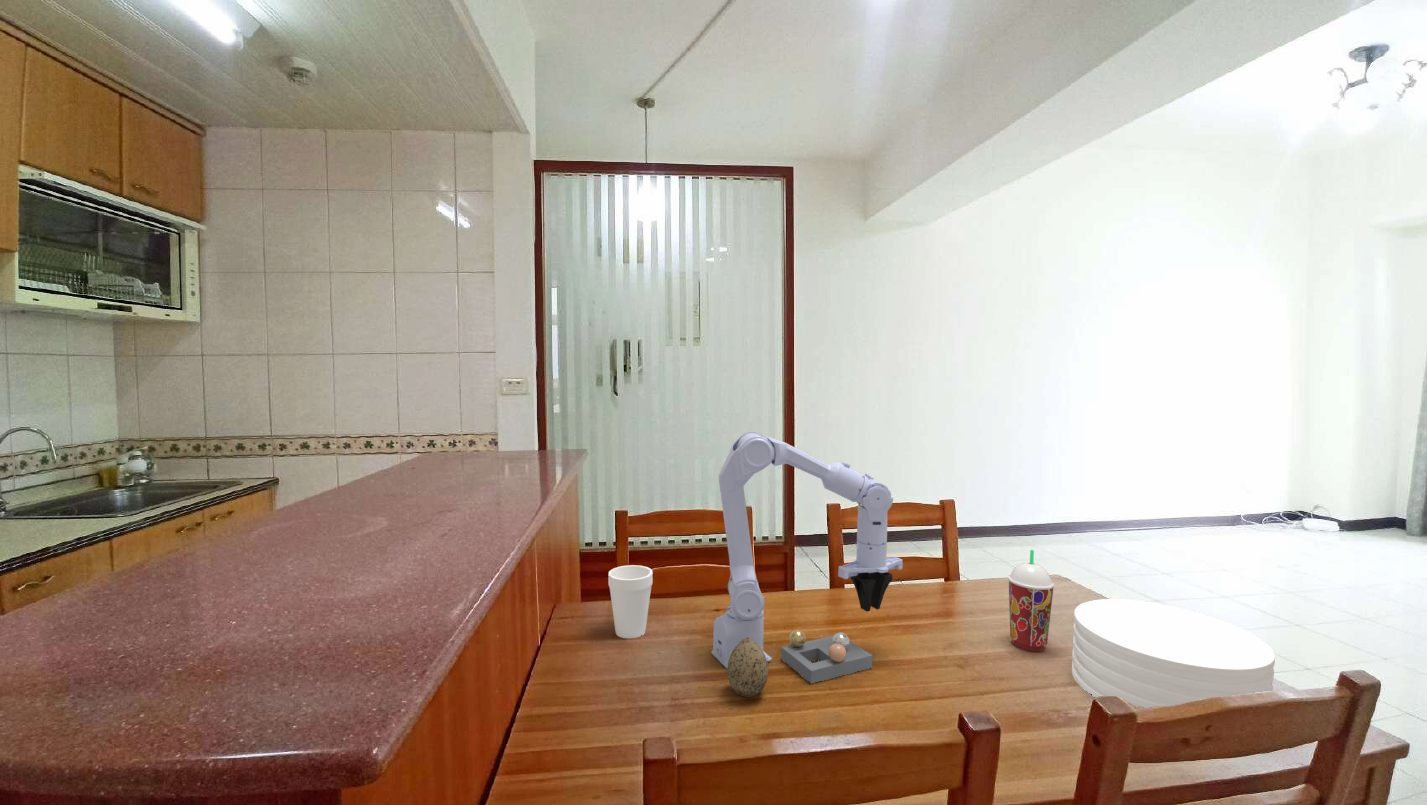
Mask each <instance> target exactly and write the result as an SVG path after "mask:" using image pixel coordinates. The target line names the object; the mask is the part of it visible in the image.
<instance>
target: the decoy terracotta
mask: <svg viewBox="0 0 1427 805" xmlns="http://www.w3.org/2000/svg"><path fill="white" fill-rule="evenodd" d="M829 656H830V658H831V659H832V660H833V661H835V662H841V661H843V660H844V659H845V657H846V650H845V648H844V646H842V645H841V644H838V643H836V644H833V645H831V647H830V648H829Z"/></svg>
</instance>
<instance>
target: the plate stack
mask: <svg viewBox="0 0 1427 805" xmlns="http://www.w3.org/2000/svg"><path fill="white" fill-rule="evenodd" d="M1073 621H1074V622H1073V636H1072V637H1073V638H1072V647H1073V648H1072V654H1071V656H1072V657H1071V660H1072V662H1071V675H1072V676H1073V679H1074V680H1075V682H1076V684H1077V685H1078V686H1079V687H1080V688H1081V689H1082V690H1084V691H1085V692H1086V691H1087V692H1088V693H1087V692H1086V693H1087V694H1089V693H1090V694H1092V696H1091V697H1093V698H1094V697H1098V696H1119V697H1121V698H1122V699H1124V700H1125V701H1128V702H1129V703H1131V704H1132V705H1134V706H1136V707H1138V706H1141V707H1144V708H1149V707H1154V706H1171V705H1175V704H1179V703H1184V702H1188V701H1196V700H1200V699H1205V698H1210V697H1215V696H1232V695H1239V694H1247V693H1255V692H1263V691H1273V692H1274V685H1273V682H1274V680H1275V678H1274V677H1275V670H1274V667H1275V664H1276V663H1275V662H1276V654H1275V651H1274V650H1273V648H1272V647H1271V646H1270V645H1269V644H1268V643H1266V642H1265V641H1264V640H1263V639H1261V638H1259V637H1258V636H1257V635H1255V634H1254V633H1252V632H1249V631H1248V630H1245V629H1244V628H1241V627H1239V626H1237V625H1234V624H1232V623H1229V622H1226V621H1224V620H1222V619H1218V618H1215V617H1213V616H1210V615H1206V614H1203V613H1200V612H1196V611H1193V610H1189V609H1185V608H1181V607H1178V606H1177V607H1176V606H1174V605H1173V606H1171V605H1168V604H1167V605H1166V604H1162V603H1158V602H1151V601H1145V600H1144V601H1143V600H1134V599H1123V598H1122V599H1121V598H1120V599H1119V598H1106V599H1105V598H1104V599H1103V598H1102V599H1095V600H1090V601H1085V602H1082V603H1080V604H1079V605H1077V606H1076V607H1075V608H1074V611H1073ZM1090 694H1089V695H1090Z"/></svg>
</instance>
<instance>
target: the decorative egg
mask: <svg viewBox="0 0 1427 805" xmlns="http://www.w3.org/2000/svg"><path fill="white" fill-rule="evenodd" d="M763 651H764V650H763ZM763 651H762V649H761V647H760V646H759V645H758V644H757V643H756V642H755V641H754V640H753V639H751V638H744V639H742V640H741V641H740V642H739V643H738V644H737V645H736V647H735V648H734V649H733V651H732V653H731V655H730V658H729V661H728V666H727V668H726V673H727V679H728V680H727V681H729V684H730V686H731V688H732V689H733V691H734V692H735V693H736V694H738V695H739V696H742V697H745V698H746V697H747V698H749V697H753V696H756V695H758V694H759V693H760V692H762V690H763V689H764V688H765V686H766V684H767V681H768V678H769V665H768V662H767V660H766V657H765V654H764V652H765V651H764V652H763Z"/></svg>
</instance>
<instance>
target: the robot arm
mask: <svg viewBox="0 0 1427 805" xmlns="http://www.w3.org/2000/svg"><path fill="white" fill-rule="evenodd" d="M771 464H772V466H774V467H778V466H781V465H789V466H791V467H794V468H796V469H798V470H800V471H802V472H805V473H807V474H809V475H812V476H814V477H816V478H818V479H820V480H821V482H822V485H823V487H824V489H826V490H828V491H830V492H832V493H834V494H836V495H838V496H839V497H842V498H844V499H847V500H848V501H851V502H853V503H857V521H856V523H857V524H856V526H857V527H856V528H857V529H856V559H855V560H853V561H851V562H849V563H846V564H844V565H839V566H838V567H837V568H838V569H837V570H838V574H837V576H838V577H839V578H842V579H843V580H848V579H849V578H850V580H851V582H852V583H853V585H854V587H855V591H856V593H857V597H858V601H859V606H860V609H862V610H863V611H864V612H867V613H868V612H870V611H871V608H874V609H875V610H876V611H877V610H880V609H881V605H882V601H883V598H884V596H885V593H886V591H887V588H888V587H889V585H890V583H892V581H893V574H892V573H890V572H889V571H890V570H891V571H892V570H895V569H896V570H903V559H902V558H899V557H897V556H894V557H887V555H888V554H887V548H888V546H887V545H888V544H887V543H888V511H889V510H890V509H891V507H892V505H893V502H894V497H892V493H891V490H889V488H888V487H887V486H886V485H884V484H883V483H881V482H879V481H878V480H876V479H875V478H874V477H872V475H871V474H868V473H864V474H863V473H861V472H859V471H857V470H854V469H852V468H851V464H850V463H847V462H846V461H842V463H841V462H838V461H835V462H833V463H829V464H827V463H825V462H823V461H821V460H819V459H817V458H816V457H814V456H811V455H810V454H808V453H806V452H804V451H802V450H801V449H799V448H797V447H794V446H793V445H790V443H787V442H784V441H781V440H780V439H776V438H774V437H770V436H765V437H764V436H763V435H762V434H761V433H759V432H757V431H746V432H745V433H743V434H742V435H740V436H739V437H738V439H736V441H734V443H732V444H731V447H730V450H729V453H728V454H727V456H726V459H725V461H724V462H723V464H722V467H721V469H720V471H719V474H718V483H719V490H720V491H719V492H720V500H721V507H722V513H723V521H724V522H723V523H724V529H725V537H726V544H727V552H728V558H729V559H728V560H729V571H730V576H729V581H728V583H727V591H728V594H729V598H730V603H729V604H728V606H727V608H726V612H724V613H723V614H722V615H719V616H717V617H716V618H714V621H713V629H712V630H713V633H712V634H713V636H712V638H713V639H712V640H713V641H712V642H713V643H712V644H713V646H712V650H711V654H712V655H713V656H714V657H715V658H716V659H717V661H719V662H720V663H721V664H722V665H723V666H724V667H725V668H726V669H727V666H728V661H729V658H730V655H731V653H732V651H733V649H734V648H735V647H736V645H737V644H738V643H739V642H740V641H741V640H742V639H744V638H751V639H753V640H754V641H755V642H756V643H757V644H758V645H759V646H760V647H761V649H762V651H763V652H764V654H765V657H766V660H767V663H768V662H772V659H773V658H772V656H770V655H769V654H768V653H766V652H765V651H764V621H765V620H764V615H765V614H764V612H765V611H764V608H765V597H764V595H763V594H762V591H761V589H760V586H759V581H758V578H757V576H756V571H755V565H754V558H753V551H752V544H751V536H750V527H749V526H750V525H749V519H748V513H747V505H746V496H745V490H744V488H745V487H744V486H745V485H746V484H747V483H748V482H749V480H750V479H751V478H752V477H753V476H754V475H755V474H758V473H759V472H761V471H763V470H764V469H766V468H768V467H769V465H771Z"/></svg>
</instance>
